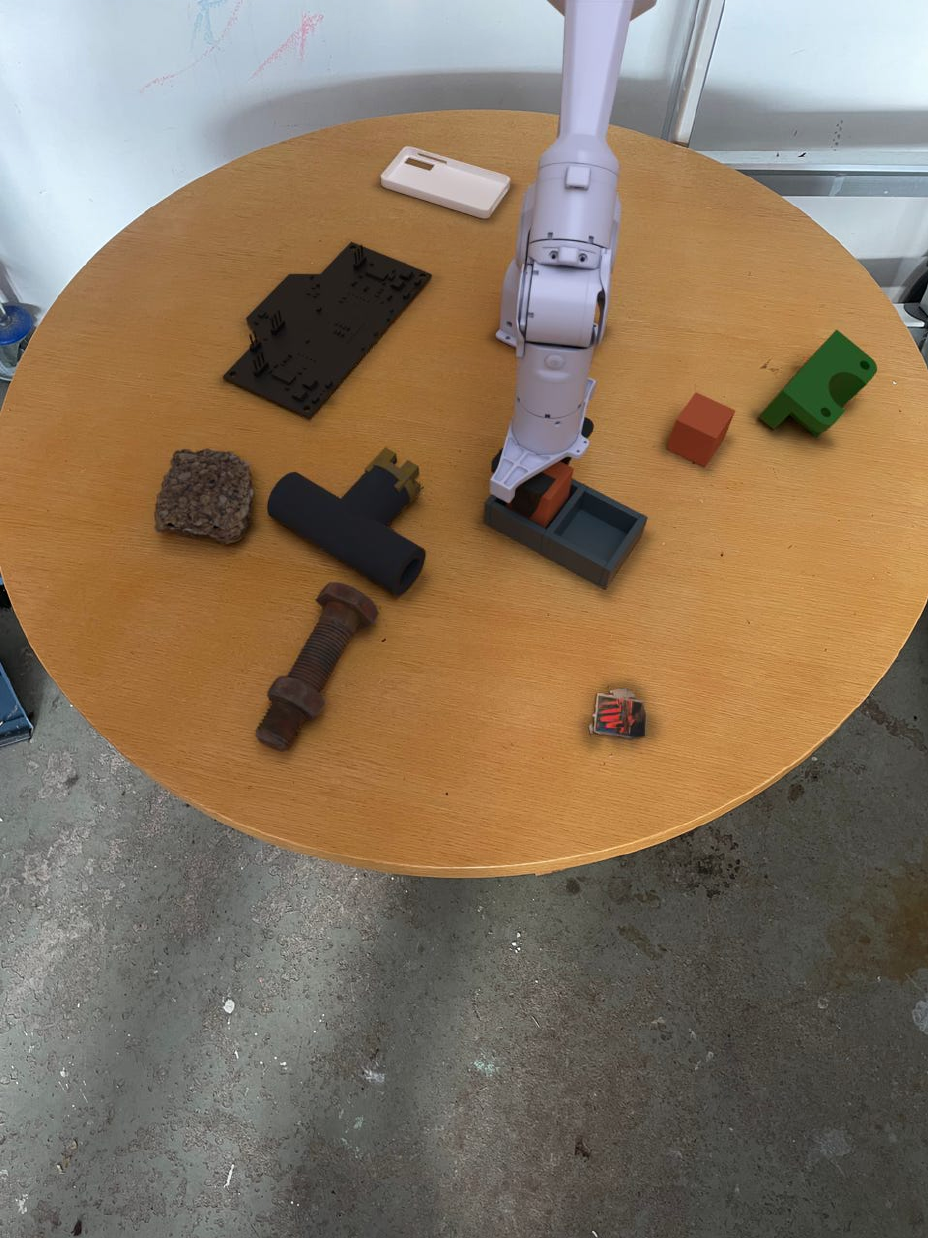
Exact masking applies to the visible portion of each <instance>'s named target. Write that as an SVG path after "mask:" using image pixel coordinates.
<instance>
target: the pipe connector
mask: <svg viewBox="0 0 928 1238" xmlns="http://www.w3.org/2000/svg"><path fill="white" fill-rule="evenodd" d="M397 463H398V456H397V453H396V452H395V451H393V450H391V449H389V448H388V447H386V446H384V448H383V449H382V450H381V451H380V452H379V453H378V454H377V455H376V456H375V457H374V458H373V459H372V461H370V462H369V464H368V465H367V466H366V467H365V468H364V473H363V474H362V475H361V476H360V477H359V478H358V480H356V481H355V483H354V484H352V486H350V488H349V489H348V490H347V491H346V492H345V493H344V494H343V495H342V496H341V497H339V496H337V495H336V494H334V493H332V492H331V491H329V490H327V489H326V488H324V487H323V486H321V485H319V484H318V483H316V482H314V481H312V480H311V479H310V478H307V477H305V476H304V475H302V474H301V473H299V472H298V471H291V472H289V473H286V474H285V475H283V476H282V477H281V478H279V480H278V481H277V482H276V483H275V485H274V486H273V488H272V490H271V492H270V493H269V495H268V499H267V504H266V511H267V514H268V516H269V517H270V518H272V519H273V520H274V521H276V522H278V523H279V524H281V525H283V526H284V527H286V528H288V529H289V530H291V531H292V532H294V533H295V534H297V535H298V536H300V537H302V538H304V539H305V540H306V541H308V542H310V543H311V544H313V545H315V546H316V547H318V548H319V549H321V550H322V551H324V552H325V553H327V554H329V555H331V557H334V558H335V559H336V560H338V561H340V562H341V563H343V564H344V565H346V566H347V567H349V568H351V569H352V570H354V571H356V572H357V573H359V574H361V575H362V576H364V577H365V578H367V579H369V580H370V581H371V582H373V583H375V584H376V585H378V586H380V587H381V588H383V589H384V590H386V591H388V592H389V593H390V594H392V595H394V596H397V597H398V596H401V595H403V594H404V593H406V592H407V591H408V590H409V588H411V587H412V586H413V584H414V583H415V582H416V580H417V579H418V577H419V576H420V573H421V571H422V570H423V567H424V564H425V562H426V557H427V556H426V555H427V553H426V549H424V548H423V547H421V546H420V545H418V544H416V543H415V542H414V541H412V540H410V539H408V538H406V537H405V536H403V535H402V534H400V533H398V532H396V531H395V530H393V529H392V528H390V527H389V525H390V524H391V523H392V522H393V520H394V519H395V518H396V517H397V516H398V515H399V514H402V513H403V512H404V511H406V509H407V507H409V505H411V503H412V502H413V501H414V500H415V499H416V498H417V497H418V495H419V494H420V493H421V492H422V490H421V489H422V487H421V483H420V482H419V481H417V480H416V479H417V478H418V477H419V476H420V466H419V465H417V464H416V463H414V462H412V461H411V460H409V459H407V460H406V461H405V462H404V463H403V464H402V465H401V466H400V467H399V466H397V465H396V464H397Z"/></svg>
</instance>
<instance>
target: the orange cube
mask: <svg viewBox="0 0 928 1238" xmlns="http://www.w3.org/2000/svg"><path fill="white" fill-rule="evenodd" d="M574 470H575V468H574V467H572V466H570V465H566V464H564V463H562V462H561V461H558V462H556V463H555V464H553V465H551V466H550V467H548V468H546V469H545V470H543V471H541V472H543V473H545V474H547V475H549V476H551V477H553V478H555V479H556V480H555V481H554V483H553V484H552V485H551V487H550V488H549V489H548V491H547V492H546V493H545V494H544V495H543V496H542V497H541V499H540V502H539V505H538V507H537V509H536V511H535V512H534V514H533V515H532V516H531V517H528V516H526V515H524V514H522V513H520V512H518V511H516V510H515V509H513V507H512V504H511V502H510V503H507V508H509V509H511V510H513V511H514V512H516V513H518V514H520V515H522V516H524V517H525V518H527V519H529V520H531V521H533V522H535V523H537V524H538V525H540V526H542V527H544V528H546V527H547V525H548V524H549V523H550V521H551V520H552V519H553V517H554V516H555V515H556V513H557V512H558V511H559V509H560V508H561V507H562V505H563V504H564V503H565V501H566V500H567V499H568V497H569V492H570V486H571V481H572V478H573V476H574V475H573V474H574Z"/></svg>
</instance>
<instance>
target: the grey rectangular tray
mask: <svg viewBox="0 0 928 1238" xmlns="http://www.w3.org/2000/svg"><path fill="white" fill-rule="evenodd" d="M483 508H484V510H483V524H484V525H486V526H487V527H490V528H492V529H494V530H496V531H498V532H499V533H501V534H503V535H505V536H506V537H508V538H509V539H512V540H514V541H516V542H517V543H519V544H521V545H523V546H525V547H527V548H528V549H530V550H531V551H534V552H535V553H537V554H539V555H541V556H543V557H545V558H546V559H548V560H550V561H551V562H554V563H556V565H557V564H558V565H559V566H561V567H563V568H565V569H566V570H568V571H570V572H572V573H574V574H576V575H577V576H579V577H581V578H582V579H584V580H586V581H588V582H589V583H592V584H594V585H595V586H597V587H599V588H600V589H603V590H604V591H605V590H607V589H608V587H609V586H610V584H611V582H612V581H613V580H614V578H615V577H616V575H617V574H618V572H619V571H620V570H621V568H622V566H623V565H624V563H625V562H626V561H627V559H628V558H629V556H630V555H631V553H632V552H633V550H634V549H635V547H636V546H637V544H638V543H639V541H640V540H641V538H642V536H643V534H644V531H645V528H646V525H647V521H648V519H649V517H648V516H647V515H645V514H643V513H640V512H639V511H637V510H635V509H633V508H631V507H629V506H627V505H625V504H623V503H622V502H619V501H617V500H615V499H613V498H612V497H610V496H608V495H606V494H604V493H602V492H600V491H598V490H596V489H594V488H593V487H590V486H589V485H587V484H585V483H583V482H581V481H579V480H577V479H575V478H573V477H572V481H571V486H570V492H569V497H568V499H567V500H566V501H565V503H564V504H563V505H562V507H561V508H560V509H559V511H558V512H557V513H556V515H555V516H554V517H553V519H552V520H551V521H550V523H549V524H548V525H547V527H546V528H544V527H542V526H540V525H538V524H537V523H535V522H533V521H531V520H529V519H527V518H525V517H524V516H522V515H520V514H518V513H516V512H514V511H513V510H511V509H509V508H507V502H506V501H504V500H501V499H500V498H498V497H496V496H494V495H493V494H491V493H490V495H489V497H488V498H487V499H486V500H485V501H484V507H483Z"/></svg>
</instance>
